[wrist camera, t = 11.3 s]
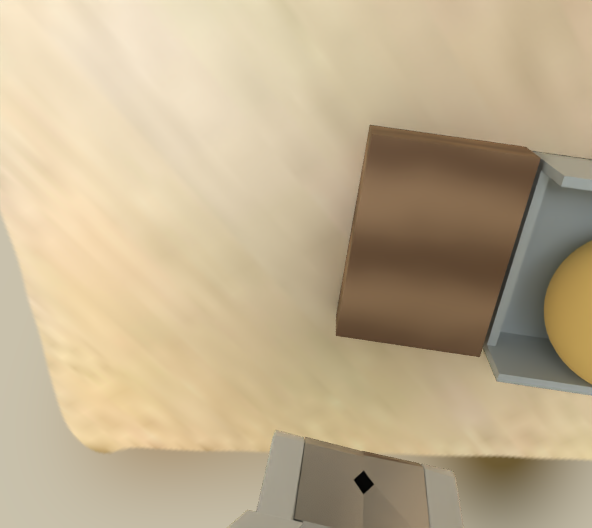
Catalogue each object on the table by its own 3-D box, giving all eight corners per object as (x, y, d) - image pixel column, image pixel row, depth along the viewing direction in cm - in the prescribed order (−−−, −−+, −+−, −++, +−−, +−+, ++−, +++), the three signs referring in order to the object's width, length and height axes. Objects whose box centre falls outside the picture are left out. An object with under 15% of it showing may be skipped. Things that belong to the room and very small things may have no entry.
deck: (369, 124, 36) (371, 134, 34) (525, 147, 36) (540, 158, 33) (336, 314, 42) (335, 335, 39) (470, 334, 42) (479, 356, 39)
